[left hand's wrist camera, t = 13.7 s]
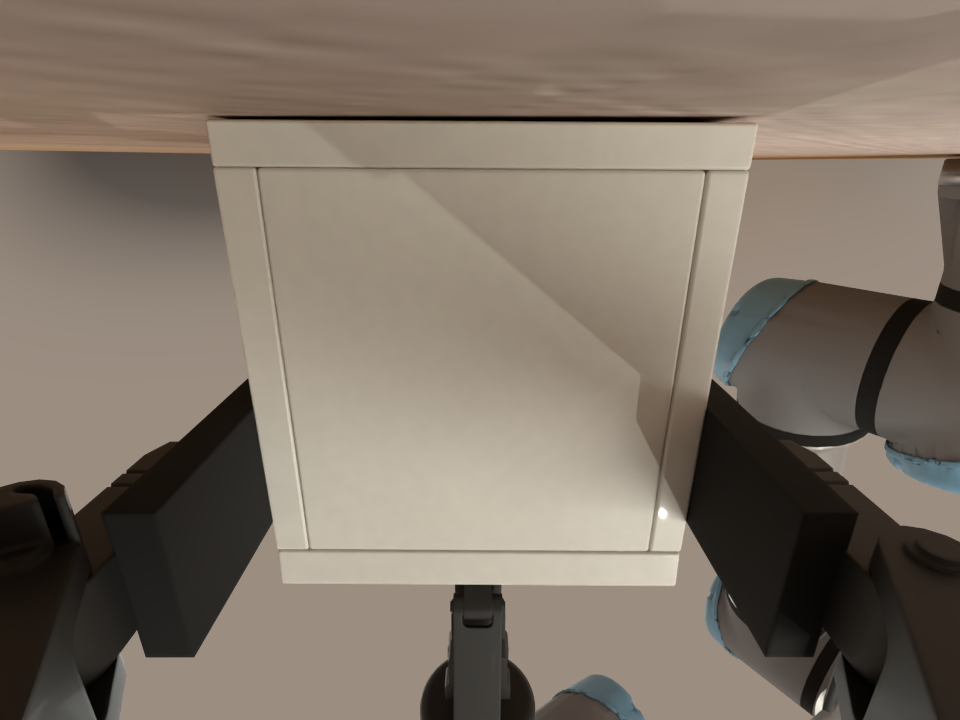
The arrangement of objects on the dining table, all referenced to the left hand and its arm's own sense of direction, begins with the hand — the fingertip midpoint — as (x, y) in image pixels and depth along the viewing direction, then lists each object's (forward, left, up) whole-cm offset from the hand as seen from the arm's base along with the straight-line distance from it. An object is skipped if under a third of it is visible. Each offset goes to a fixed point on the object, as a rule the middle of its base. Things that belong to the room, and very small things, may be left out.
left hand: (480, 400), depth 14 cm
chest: (+4, -3, -7) cm, 8 cm away
